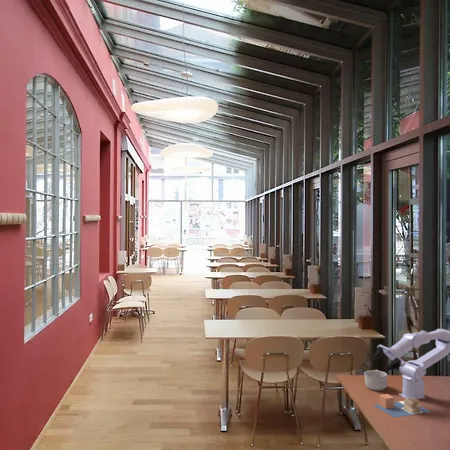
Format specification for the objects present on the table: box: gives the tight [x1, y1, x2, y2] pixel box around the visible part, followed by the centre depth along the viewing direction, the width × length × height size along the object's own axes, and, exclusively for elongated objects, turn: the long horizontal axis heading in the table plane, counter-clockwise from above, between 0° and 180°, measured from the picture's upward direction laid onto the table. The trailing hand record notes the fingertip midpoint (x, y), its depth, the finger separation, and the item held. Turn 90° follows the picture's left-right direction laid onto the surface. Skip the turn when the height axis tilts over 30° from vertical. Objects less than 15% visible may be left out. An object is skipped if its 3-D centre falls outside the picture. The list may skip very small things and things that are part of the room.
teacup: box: [363, 369, 388, 392], centre depth 240 cm, size 14×11×8 cm
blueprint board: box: [373, 400, 432, 418], centre depth 213 cm, size 20×14×1 cm
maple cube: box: [403, 398, 421, 413], centre depth 211 cm, size 4×4×4 cm
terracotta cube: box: [378, 393, 395, 409], centre depth 215 cm, size 4×4×4 cm
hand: (378, 364), depth 219 cm, fingers open, 7 cm apart
